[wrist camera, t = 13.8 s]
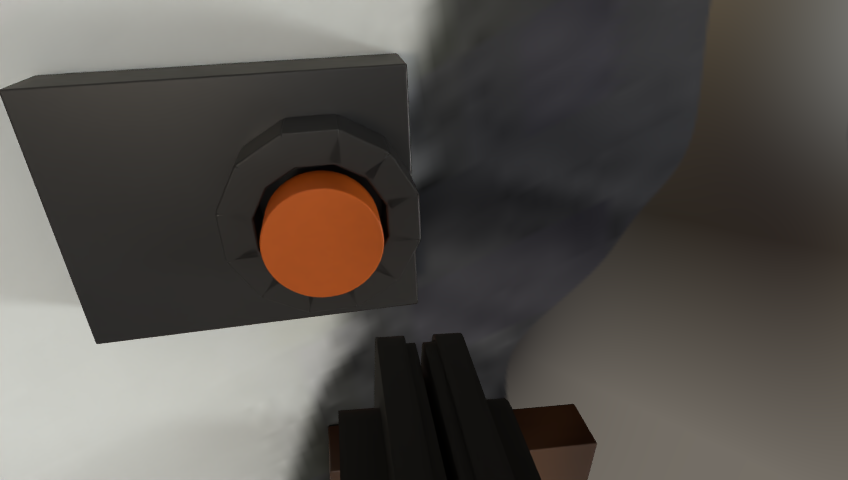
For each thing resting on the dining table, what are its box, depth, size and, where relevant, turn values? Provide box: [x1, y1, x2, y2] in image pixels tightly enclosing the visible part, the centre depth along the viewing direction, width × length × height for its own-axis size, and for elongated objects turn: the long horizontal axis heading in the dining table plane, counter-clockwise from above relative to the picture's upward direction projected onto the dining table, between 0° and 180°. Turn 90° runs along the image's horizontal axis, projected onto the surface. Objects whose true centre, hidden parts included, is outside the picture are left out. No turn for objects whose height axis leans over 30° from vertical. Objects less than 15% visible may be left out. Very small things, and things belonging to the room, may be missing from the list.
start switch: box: [260, 170, 384, 297], centre depth 18 cm, size 4×4×2 cm
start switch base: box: [0, 54, 421, 344], centre depth 20 cm, size 13×10×4 cm
